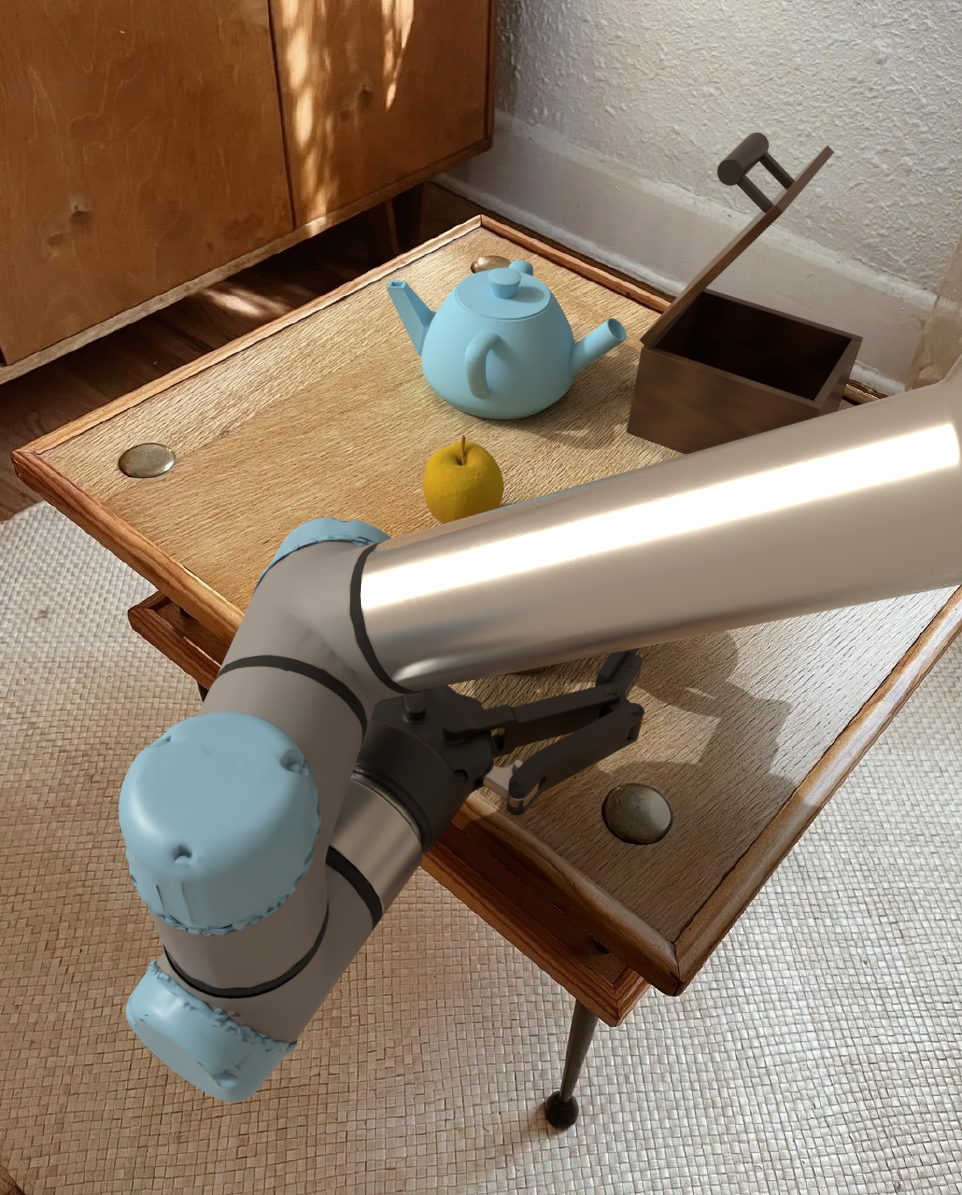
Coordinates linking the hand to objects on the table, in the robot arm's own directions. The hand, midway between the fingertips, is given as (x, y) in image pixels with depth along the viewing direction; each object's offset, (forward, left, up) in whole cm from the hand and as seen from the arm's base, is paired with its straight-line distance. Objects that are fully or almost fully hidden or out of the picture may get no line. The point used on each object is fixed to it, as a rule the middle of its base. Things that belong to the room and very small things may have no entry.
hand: (551, 582), depth 69 cm
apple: (+12, -9, -7) cm, 17 cm away
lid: (+1, -34, +9) cm, 35 cm away
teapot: (+19, -28, -7) cm, 34 cm away
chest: (-2, -34, -7) cm, 34 cm away
